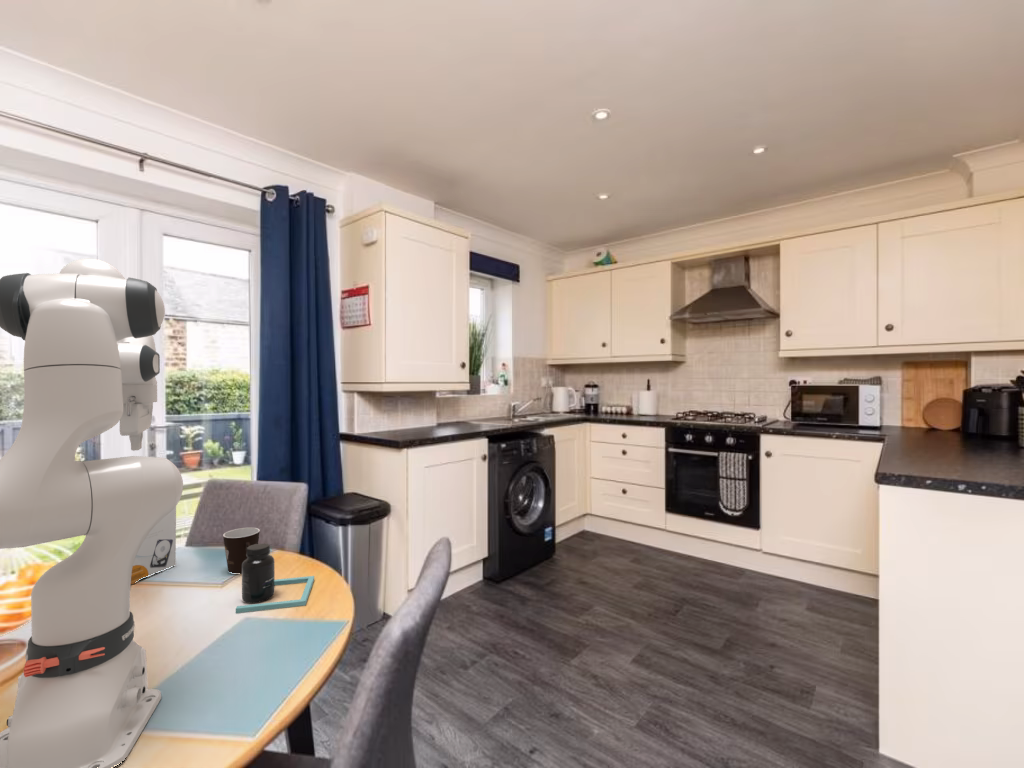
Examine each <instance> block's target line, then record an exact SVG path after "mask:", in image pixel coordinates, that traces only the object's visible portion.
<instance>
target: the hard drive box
mask: <svg viewBox="0 0 1024 768" xmlns="http://www.w3.org/2000/svg"><path fill="white" fill-rule="evenodd" d="M176 537H177V506H176V507H175V508H174V509H173V510H172V511H171V512H170V513H169V514H168V515H166V516H165V517H164V518H163V519H162V520H161V521H160V522H159V523H158V524H157V525H156V526H155V527H154V528H153V529H152V530H151V531H150V533H149V534H148V535H147V537H146V538H145V540H144V541H143V543H142V545H141V547H140V549H139V550H138V553H137V555H136V557H135V560H134V564H133V568H132V575H131V585H134V583H135V582H136V581H138V580H139V579H141V578H143V577H146V576H148V575H151V574H153V573H156V572H158V571H161V570H164V569H166V568H169V567H171V566H174V565H176V564H177V563H176V554H177V552H176V550H177V548H176V547H177V545H176V544H177V539H176ZM174 567H175V566H174ZM135 584H136V583H135Z"/></svg>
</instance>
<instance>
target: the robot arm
mask: <svg viewBox="0 0 1024 768" xmlns="http://www.w3.org/2000/svg"><path fill="white" fill-rule="evenodd" d="M149 282H150V281H149ZM149 282H148V281H146V280H142V279H139V278H133V277H128V278H125V276H124V275H123V274H122V272H120V271H119V270H118V269H117V267H115V266H114V265H113V264H111V263H108V262H107V261H104V260H101V259H99V258H98V259H96V258H79V259H76V260H73V261H71V262H68V263H67V264H65V265H64V266H63V267H62V269H60V271H59V273H41V274H40V273H39V274H31V273H28V272H26V273H25V272H24V273H14V274H9V275H8V274H7V275H3V276H1V278H0V328H1V329H2V330H4V331H5V332H7V333H8V334H10V335H11V336H13V337H16V338H17V337H18V338H21V339H22V340H23V341H24V346H23V347H24V349H23V381H24V383H23V384H24V385H23V386H24V393H23V394H24V395H23V396H24V399H23V413H22V414H23V415H22V421H21V424H20V425H21V427H20V429H19V431H18V434H17V436H16V438H15V440H14V442H13V443H12V445H11V446H10V447H9V448H8V449H7V451H6V452H5V454H4V455H3V456H2V457H1V458H0V550H1V549H2V550H3V549H4V550H5V549H14V548H15V549H17V548H19V549H20V548H26V547H31V546H35V545H40V544H42V545H43V544H45V543H46V544H47V543H51V542H55V541H61V540H66V539H72V538H76V537H81V536H85V537H84V540H83V541H82V543H81V544H80V546H79V547H78V548H77V549H76V550H75V551H74V552H73V553H72V554H71V555H69V556H68V557H66V558H65V559H63V560H61V561H60V562H57V563H56V564H54V565H53V566H51V567H50V568H48V569H47V570H46V571H44V573H43V574H42V575H41V576H40V577H39V578H38V579H37V581H36V582H35V583H34V586H33V587H32V590H31V593H30V594H31V596H30V597H31V598H30V601H31V602H30V603H31V604H30V605H31V606H30V607H31V614H30V615H31V618H30V619H31V637H29V639H28V640H27V648H26V650H25V664H24V667H23V672H22V673H21V675H19V676H18V677H17V683H18V688H17V689H18V690H17V692H16V693H17V694H16V699H15V703H14V708H13V713H12V715H10V716H8V718H7V719H6V726H7V728H5V729H3V730H2V731H1V732H0V768H97V767H98V768H111V767H114V765H117V764H119V763H121V762H122V761H124V760H125V761H126V759H127V758H128V756H129V755H130V753H131V751H132V749H133V747H134V746H135V744H136V743H137V740H138V739H139V737H140V735H141V734H142V732H143V730H144V728H145V727H146V726H147V723H148V722H149V720H150V718H151V717H152V714H154V712H155V711H156V708H157V706H158V704H159V703H160V701H161V699H162V692H161V690H160V689H157V688H156V689H155V688H149V685H148V684H149V683H148V666H147V663H148V662H147V652H146V649H145V648H144V647H143V646H141V645H139V644H138V643H136V642H135V641H134V637H135V631H134V630H135V628H136V627H135V620H134V614H133V612H132V611H131V600H130V599H131V587H132V586H131V585H132V584H131V575H132V568H133V564H134V560H135V557H136V555H137V553H138V550H139V549H140V547H141V545H142V543H143V541H144V540H145V538H146V537H147V535H148V534H149V533H150V531H151V530H152V529H153V528H154V527H155V526H156V525H157V524H158V523H159V522H160V521H161V520H162V519H163V518H164V517H165V516H166V515H168V514H169V513H170V512H171V511H172V510H173V509H174V508H175V507H176V508H177V505H178V503H179V502H180V500H181V498H182V495H183V490H184V480H183V477H182V474H181V471H180V470H179V469H178V466H176V464H174V463H173V462H172V461H171V460H169V458H166V457H157V456H142V455H141V456H139V455H138V456H137V455H133V456H132V455H131V456H123V457H122V456H121V457H112V458H104V459H93V460H85V461H81V460H76V453H77V449H78V448H79V446H80V445H81V444H83V443H84V442H86V441H89V440H90V439H94V438H96V437H97V436H98V437H99V435H101V434H103V433H105V432H107V431H109V430H111V429H112V428H113V427H115V426H116V425H118V423H119V433H120V435H121V436H125V437H126V436H128V437H129V441H130V450H131V451H133V452H135V451H140V450H141V449H142V446H143V443H142V441H143V439H144V438H143V437H144V431H147V430H148V429H150V427H151V424H152V421H153V419H152V418H153V408H154V403H156V402H157V403H158V380H157V379H156V378H157V377H156V376H158V375H159V374H160V370H161V369H160V367H161V366H160V361H161V360H160V354H159V353H158V352H157V349H156V344H155V339H154V337H153V336H155V335H156V334H157V332H159V331H160V330H161V327H162V324H163V321H164V318H165V311H166V308H165V304H164V300H163V298H162V296H161V295H160V293H159V292H158V289H157V287H156V286H155V285H153V284H152V283H149ZM126 757H127V758H126ZM125 758H126V759H125ZM125 761H124V762H125ZM121 764H122V763H121Z"/></svg>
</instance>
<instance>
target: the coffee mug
mask: <svg viewBox="0 0 1024 768" xmlns="http://www.w3.org/2000/svg"><path fill="white" fill-rule="evenodd" d="M260 531H261V529H259V528H258V527H241V528H235V529H231V530H228V531H225V532H224V533H223V534H222V536H223V546H224V551H225V558H226V565H227V572H228V571H229V572H232V573H240V574H239V575H242V563H243V561H244V560H245V559H246V558H248V557H247V556H246V554H247V547H249V546H251V545H254V544H259V540H260V533H261V532H260Z"/></svg>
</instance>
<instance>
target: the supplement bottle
mask: <svg viewBox="0 0 1024 768" xmlns="http://www.w3.org/2000/svg"><path fill="white" fill-rule="evenodd" d="M270 547H271V546H270V544H269V543H258V544H254V545H251V546H249V547H247V554H246V556H247V557H248V558H246V559H245V560H244V561H243V563H242V574H241V599H242V601H243V602H244V603H247V604H259V603H262V602H266V601H268V600H269V599H271V598H272V597H273V596H274V594H275V588H276V587H275V586H276V585H275V580H276V579H275V578H276V577H275V575H276V574H275V558H274V556H272V555H271V554H270V553H271V549H270Z"/></svg>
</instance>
